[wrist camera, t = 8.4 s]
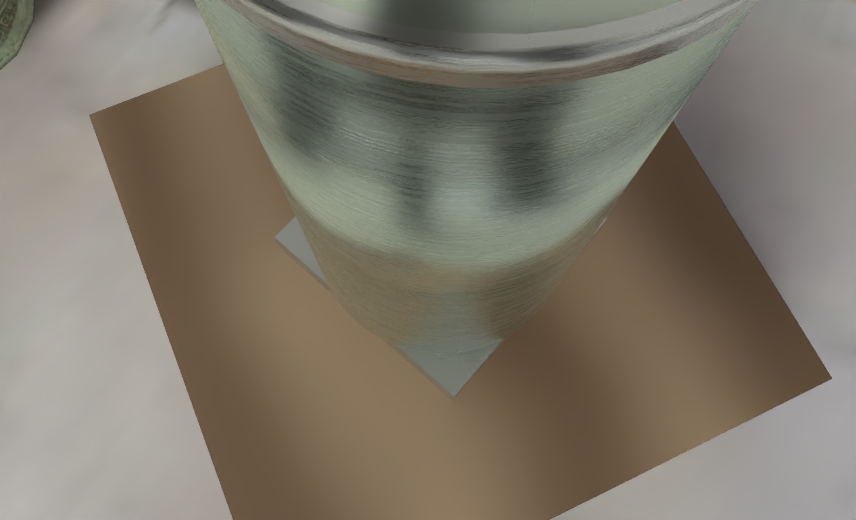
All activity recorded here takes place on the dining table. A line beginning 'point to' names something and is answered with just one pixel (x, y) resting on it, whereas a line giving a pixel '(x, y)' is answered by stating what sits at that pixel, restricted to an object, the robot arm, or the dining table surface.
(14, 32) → the vessel
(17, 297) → the dining table surface
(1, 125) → the dining table surface
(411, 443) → the walnut block
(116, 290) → the dining table surface
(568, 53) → the green drinking glass
